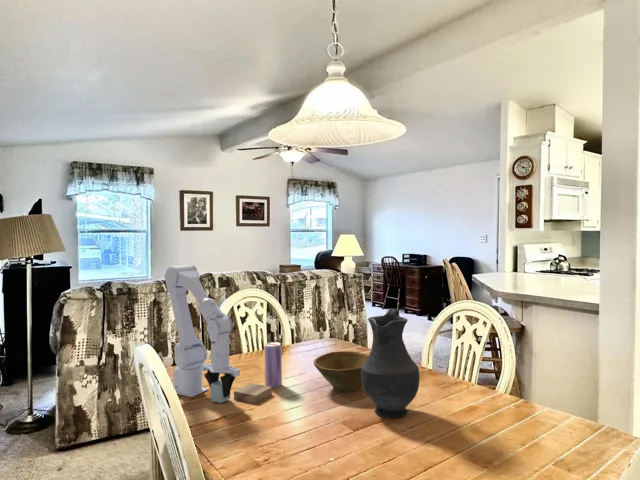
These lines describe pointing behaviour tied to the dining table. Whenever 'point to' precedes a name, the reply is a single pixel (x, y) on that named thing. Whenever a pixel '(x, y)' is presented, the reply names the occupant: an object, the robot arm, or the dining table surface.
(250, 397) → the tan block
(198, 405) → the dining table surface
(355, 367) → the bowl
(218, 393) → the pale grey-blue block
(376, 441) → the dining table surface
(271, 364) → the beverage can
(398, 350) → the pitcher
